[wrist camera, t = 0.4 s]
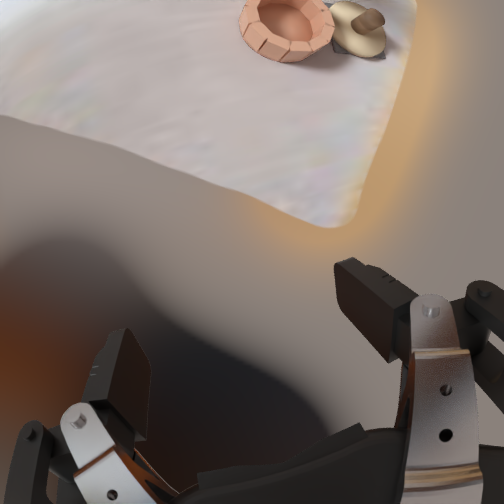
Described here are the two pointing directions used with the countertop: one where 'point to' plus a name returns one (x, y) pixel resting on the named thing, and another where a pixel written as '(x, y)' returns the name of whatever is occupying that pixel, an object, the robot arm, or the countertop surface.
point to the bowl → (286, 28)
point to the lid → (358, 29)
